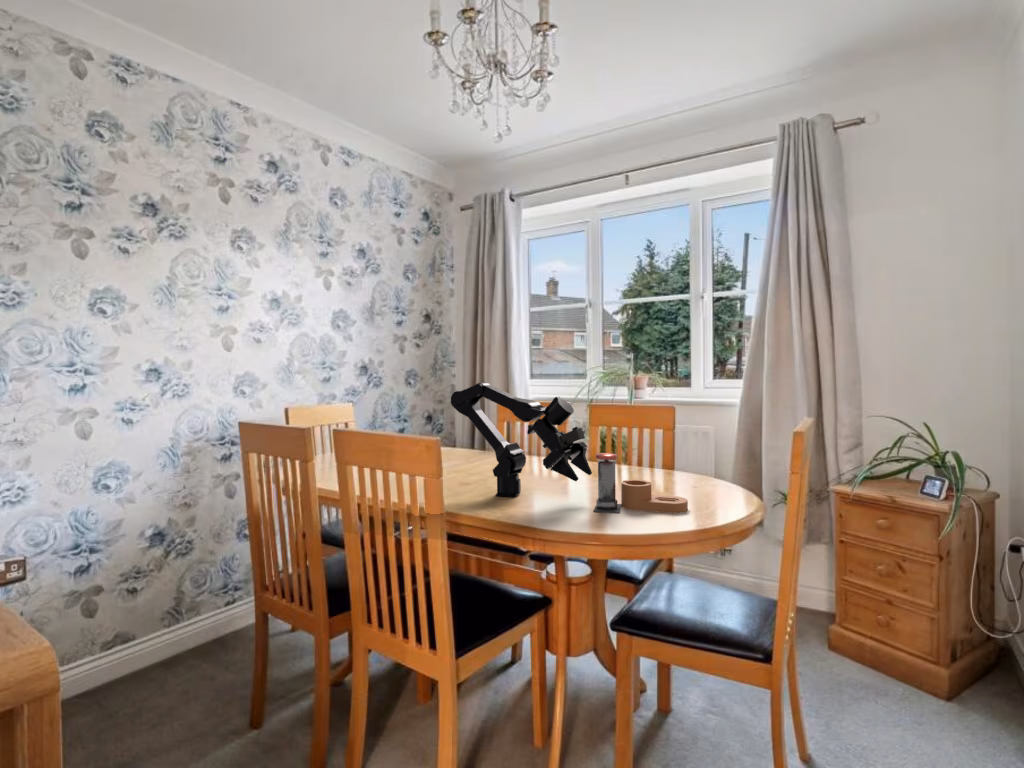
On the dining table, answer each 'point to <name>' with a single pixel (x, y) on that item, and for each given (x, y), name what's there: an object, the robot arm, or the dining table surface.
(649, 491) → the bracket
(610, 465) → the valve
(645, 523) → the dining table surface
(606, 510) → the dark grey rectangular plate
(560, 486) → the dining table surface
